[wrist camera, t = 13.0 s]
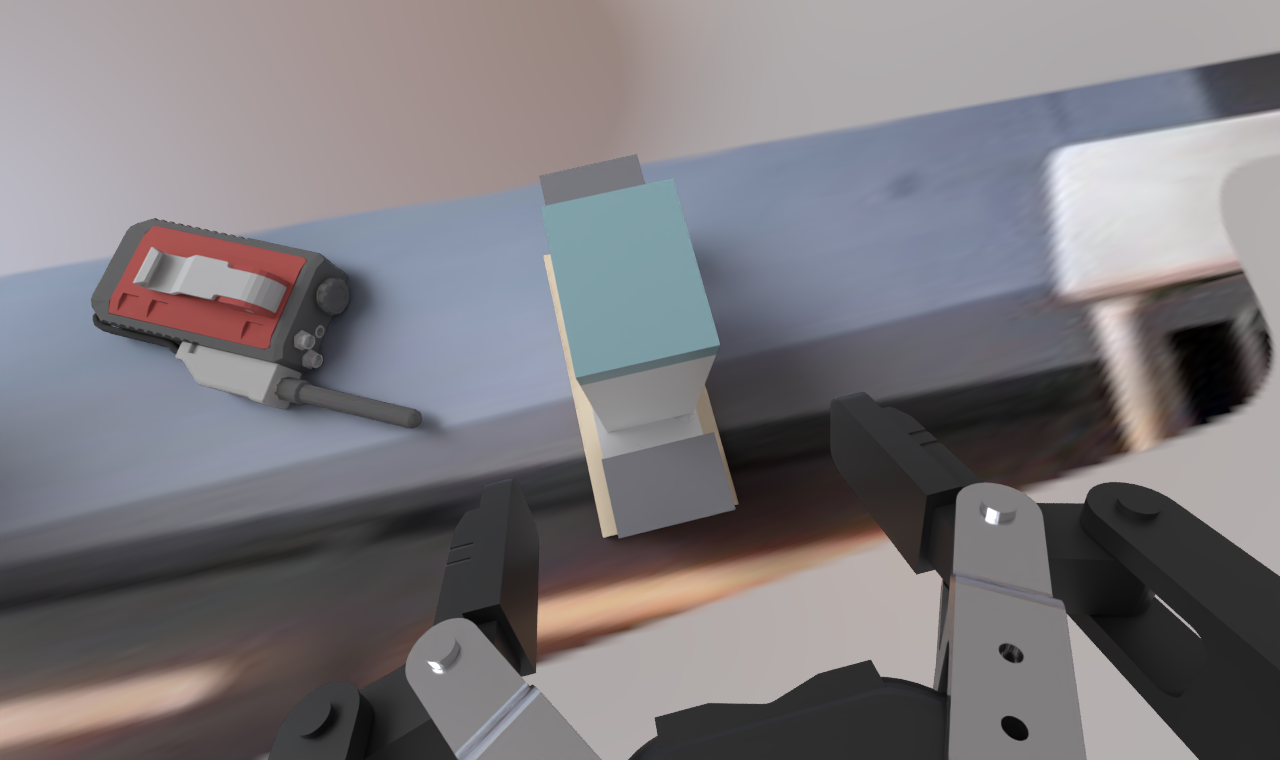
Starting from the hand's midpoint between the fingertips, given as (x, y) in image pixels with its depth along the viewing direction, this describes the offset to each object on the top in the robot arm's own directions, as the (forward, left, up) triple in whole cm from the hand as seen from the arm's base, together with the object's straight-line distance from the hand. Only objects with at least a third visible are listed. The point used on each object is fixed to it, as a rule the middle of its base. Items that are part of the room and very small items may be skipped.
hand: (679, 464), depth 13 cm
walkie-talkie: (-24, +2, -15) cm, 28 cm away
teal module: (-3, +6, -13) cm, 14 cm away
